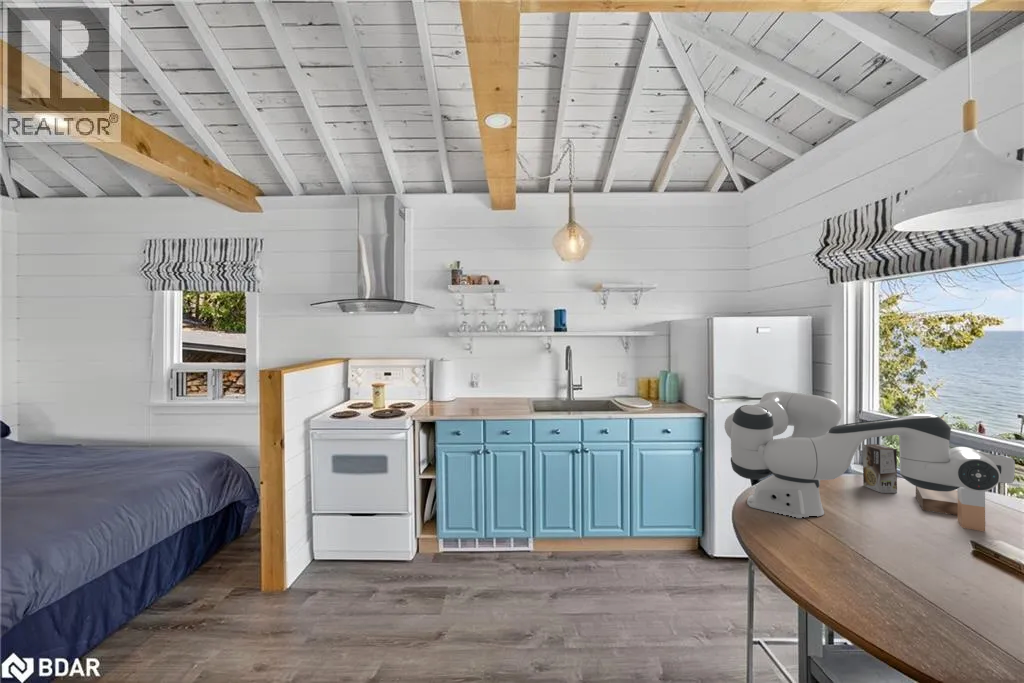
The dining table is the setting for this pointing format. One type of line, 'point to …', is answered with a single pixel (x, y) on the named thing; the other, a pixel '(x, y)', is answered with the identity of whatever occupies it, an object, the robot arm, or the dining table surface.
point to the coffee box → (880, 468)
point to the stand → (938, 500)
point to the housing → (971, 509)
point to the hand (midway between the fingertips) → (956, 457)
